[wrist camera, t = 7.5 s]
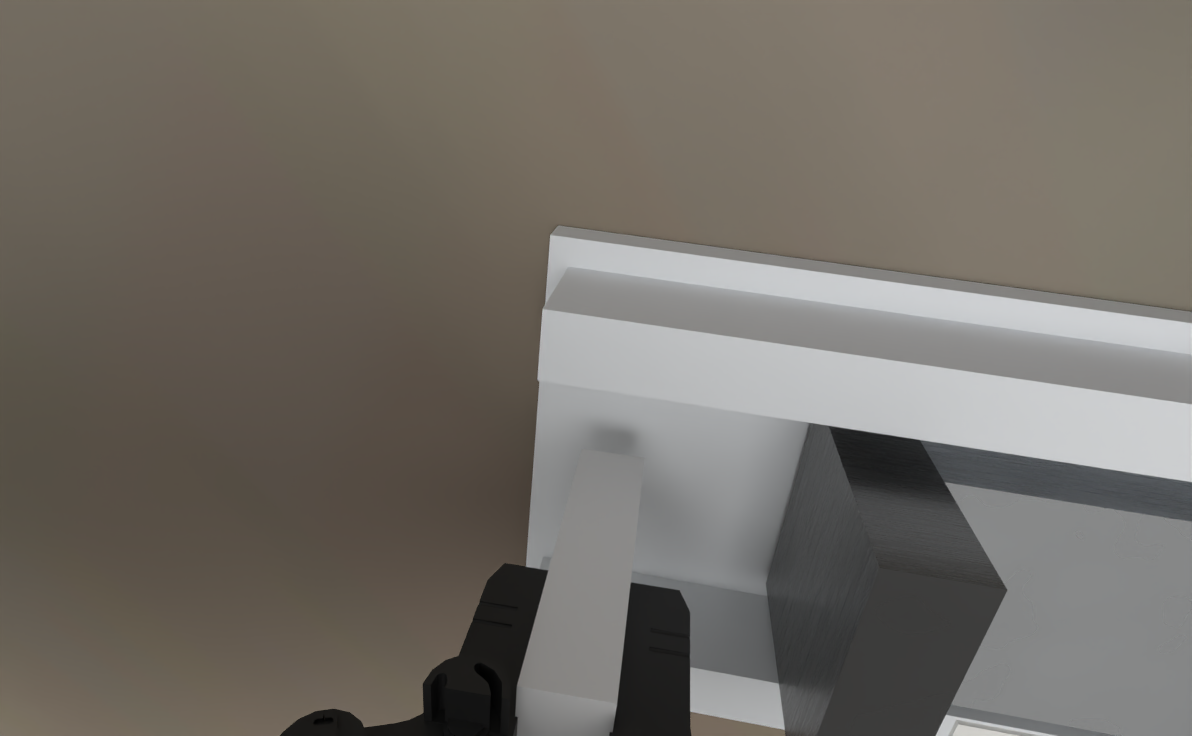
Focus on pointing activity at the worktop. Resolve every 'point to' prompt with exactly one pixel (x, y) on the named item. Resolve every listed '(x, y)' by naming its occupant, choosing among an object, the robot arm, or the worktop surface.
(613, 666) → the robot arm
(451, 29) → the worktop surface
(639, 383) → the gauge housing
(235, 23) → the worktop surface
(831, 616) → the block with dark end
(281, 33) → the worktop surface
